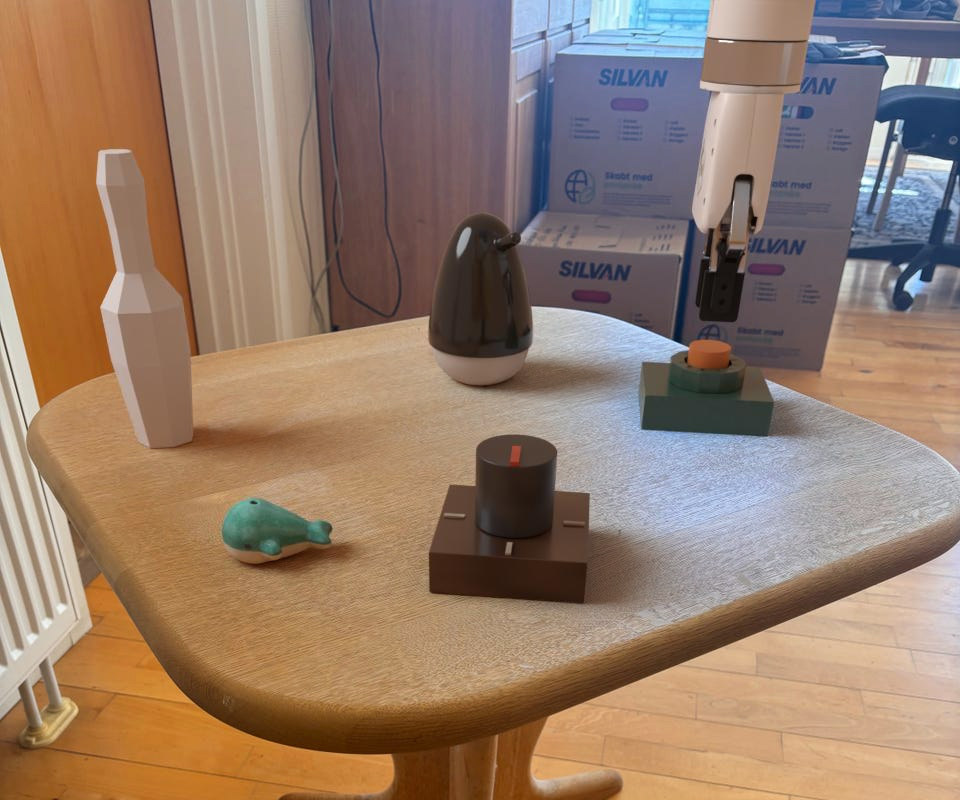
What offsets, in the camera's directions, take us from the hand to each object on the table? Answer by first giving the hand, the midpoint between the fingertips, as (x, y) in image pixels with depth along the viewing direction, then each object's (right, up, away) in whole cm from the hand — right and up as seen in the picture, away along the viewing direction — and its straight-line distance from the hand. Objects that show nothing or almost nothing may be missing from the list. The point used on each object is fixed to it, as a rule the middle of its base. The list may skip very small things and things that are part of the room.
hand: (715, 311), depth 84 cm
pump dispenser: (-20, -2, +13) cm, 24 cm away
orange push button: (0, -4, +3) cm, 5 cm away
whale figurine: (-34, -22, -17) cm, 44 cm away
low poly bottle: (-47, -11, -1) cm, 48 cm away
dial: (-18, -20, -19) cm, 33 cm away
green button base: (0, -8, +5) cm, 9 cm away
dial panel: (-18, -23, -17) cm, 34 cm away
